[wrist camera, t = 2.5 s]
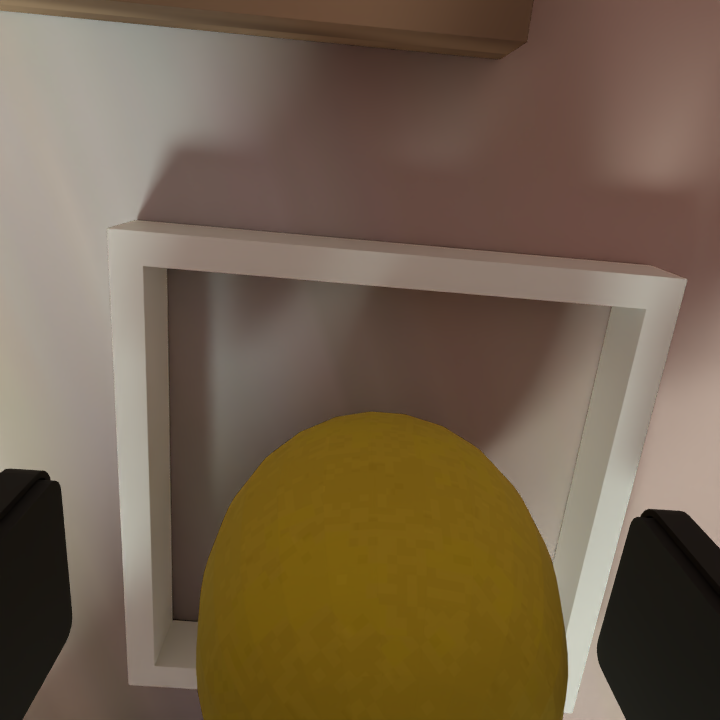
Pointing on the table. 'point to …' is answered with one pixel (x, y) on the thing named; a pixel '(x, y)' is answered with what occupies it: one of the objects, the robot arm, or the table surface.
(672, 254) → the table surface
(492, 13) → the tray
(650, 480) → the table surface
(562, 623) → the lemon
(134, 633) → the frame
